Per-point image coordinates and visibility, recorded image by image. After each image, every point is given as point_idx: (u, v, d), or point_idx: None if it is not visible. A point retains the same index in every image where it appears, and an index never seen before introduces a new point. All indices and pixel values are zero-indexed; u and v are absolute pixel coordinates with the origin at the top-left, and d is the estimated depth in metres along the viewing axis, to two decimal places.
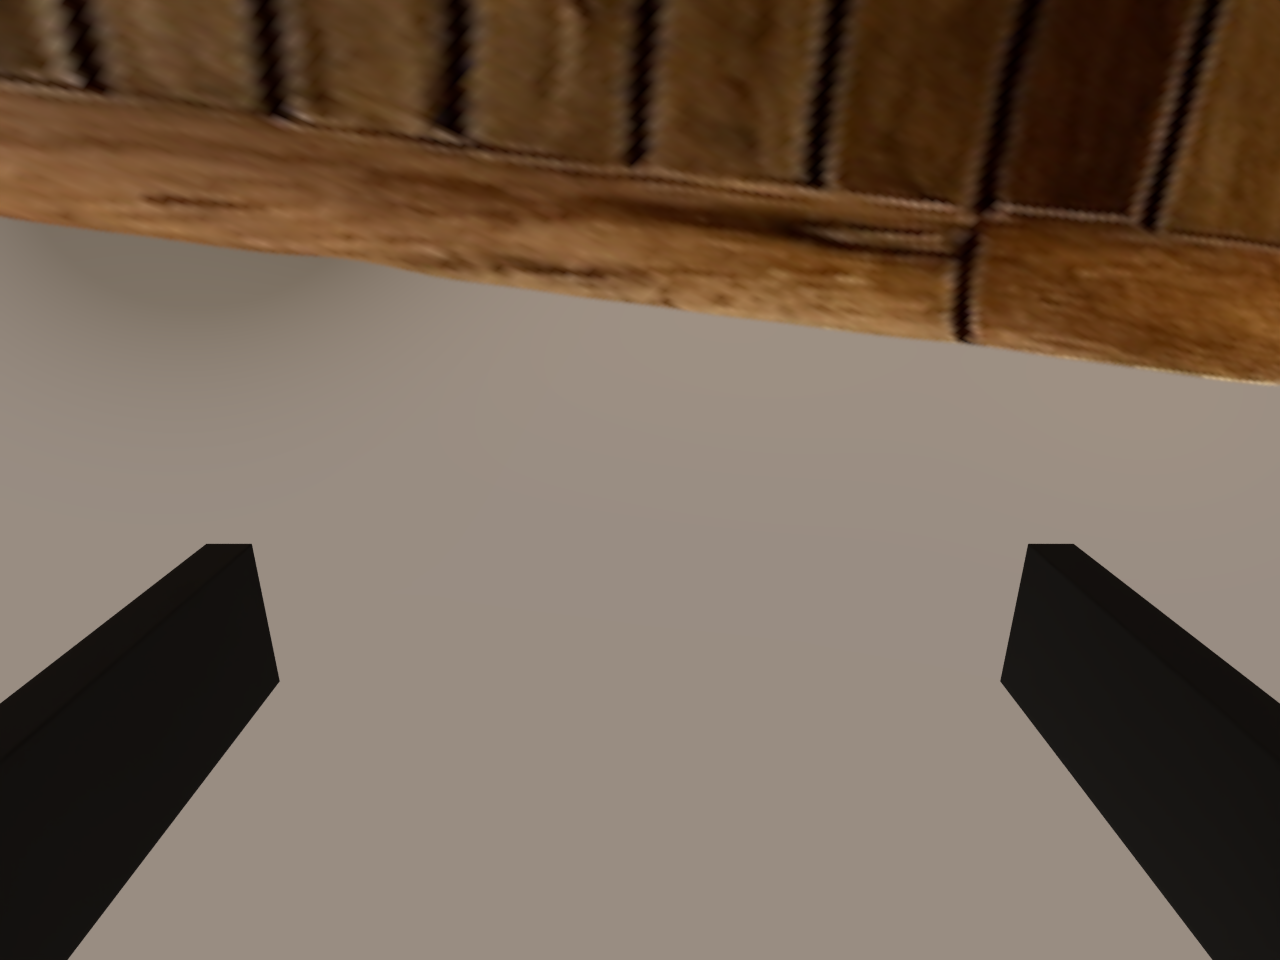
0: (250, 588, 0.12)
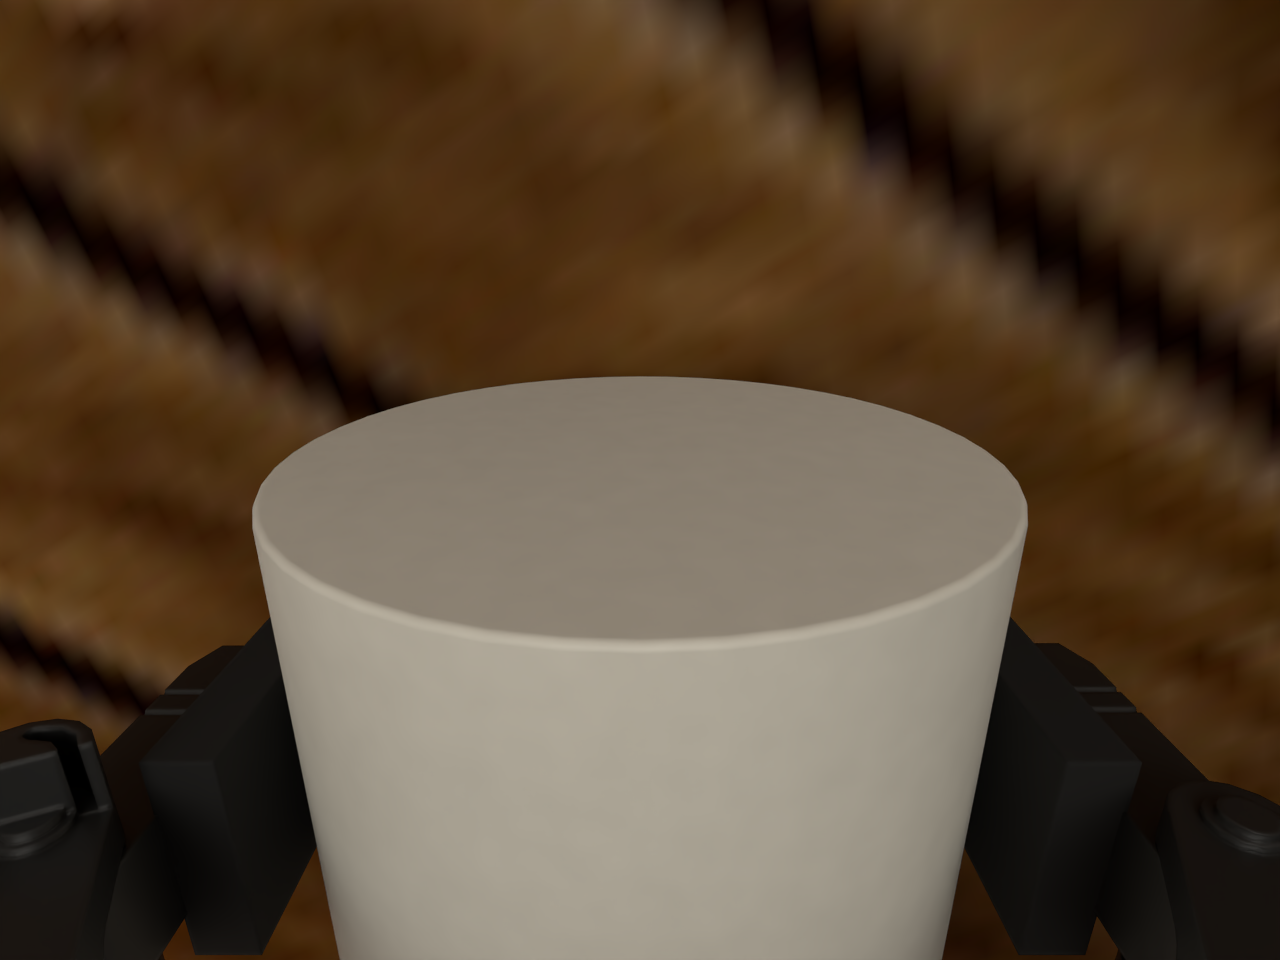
0: None
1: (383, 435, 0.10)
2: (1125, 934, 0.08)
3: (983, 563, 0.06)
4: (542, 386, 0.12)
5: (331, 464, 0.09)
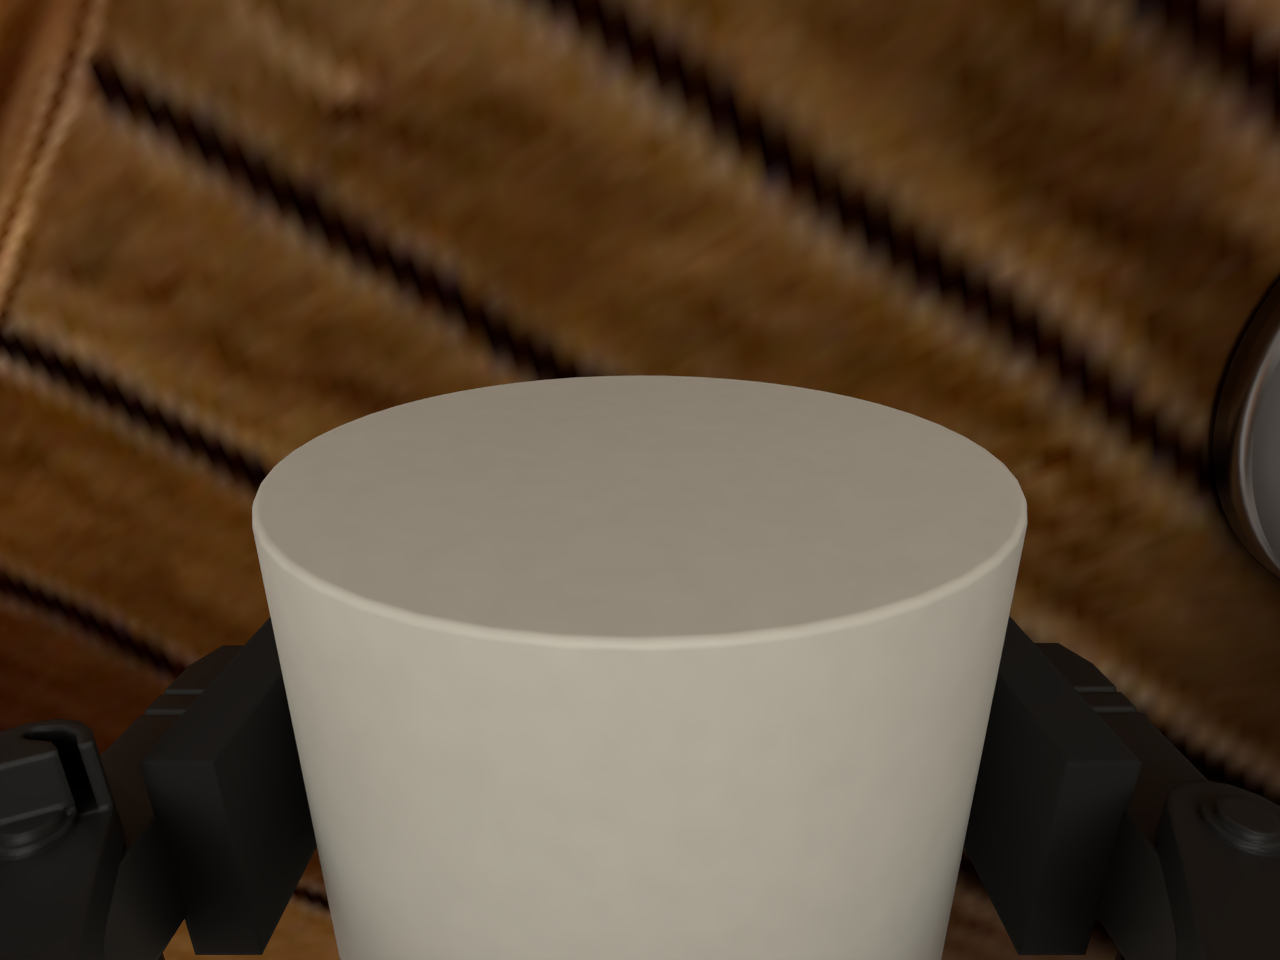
0: None
1: (383, 434, 0.10)
2: (1125, 934, 0.08)
3: (983, 561, 0.06)
4: (542, 385, 0.12)
5: (331, 462, 0.09)
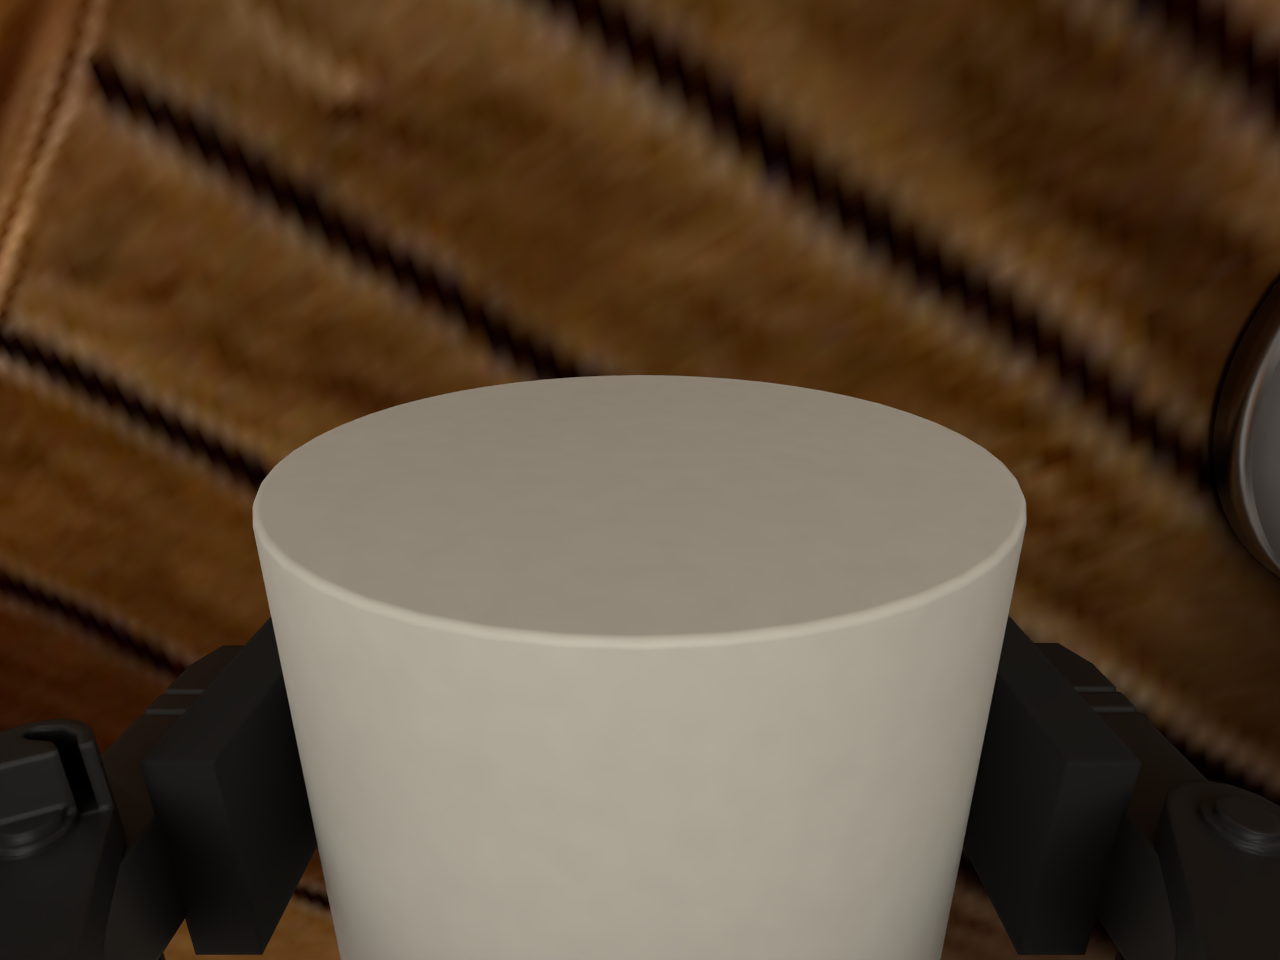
0: None
1: (383, 433, 0.10)
2: (1124, 934, 0.08)
3: (982, 561, 0.06)
4: (542, 385, 0.12)
5: (331, 462, 0.09)
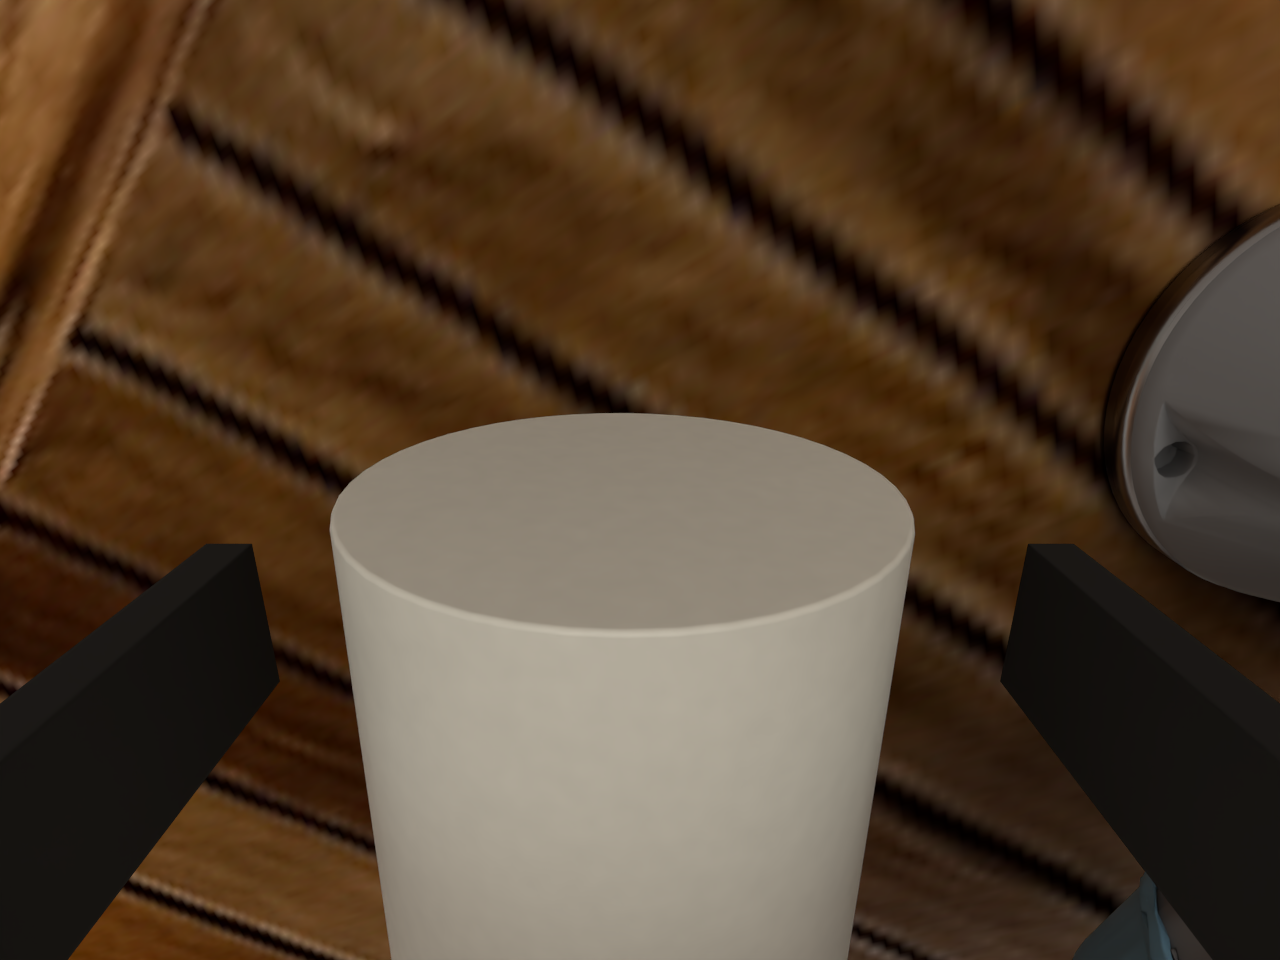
0: (250, 588, 0.12)
1: (419, 467, 0.12)
2: None
3: (867, 578, 0.09)
4: (545, 422, 0.15)
5: (383, 492, 0.11)
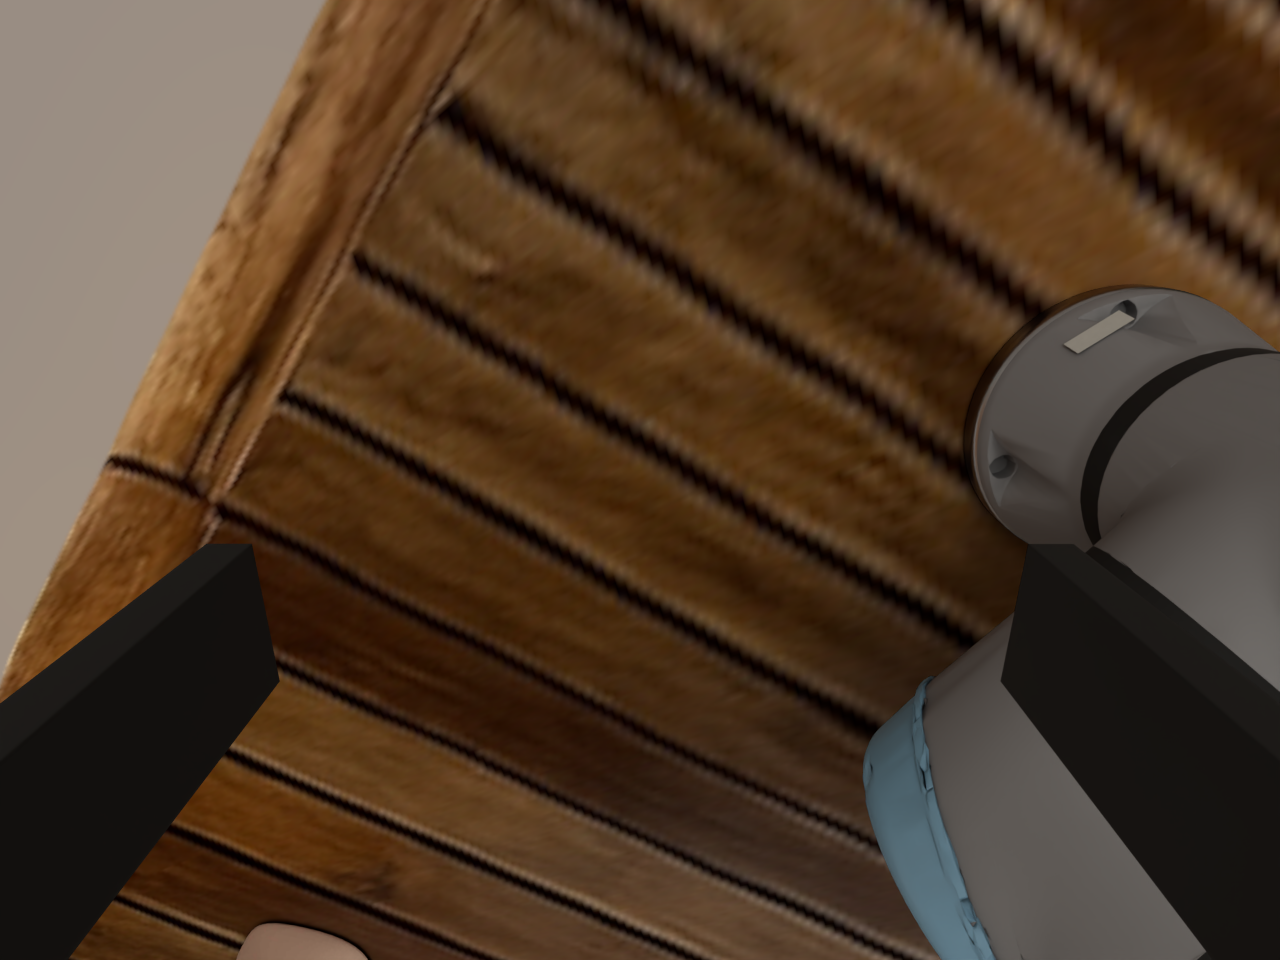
0: (251, 588, 0.12)
1: None
2: None
3: None
4: None
5: None
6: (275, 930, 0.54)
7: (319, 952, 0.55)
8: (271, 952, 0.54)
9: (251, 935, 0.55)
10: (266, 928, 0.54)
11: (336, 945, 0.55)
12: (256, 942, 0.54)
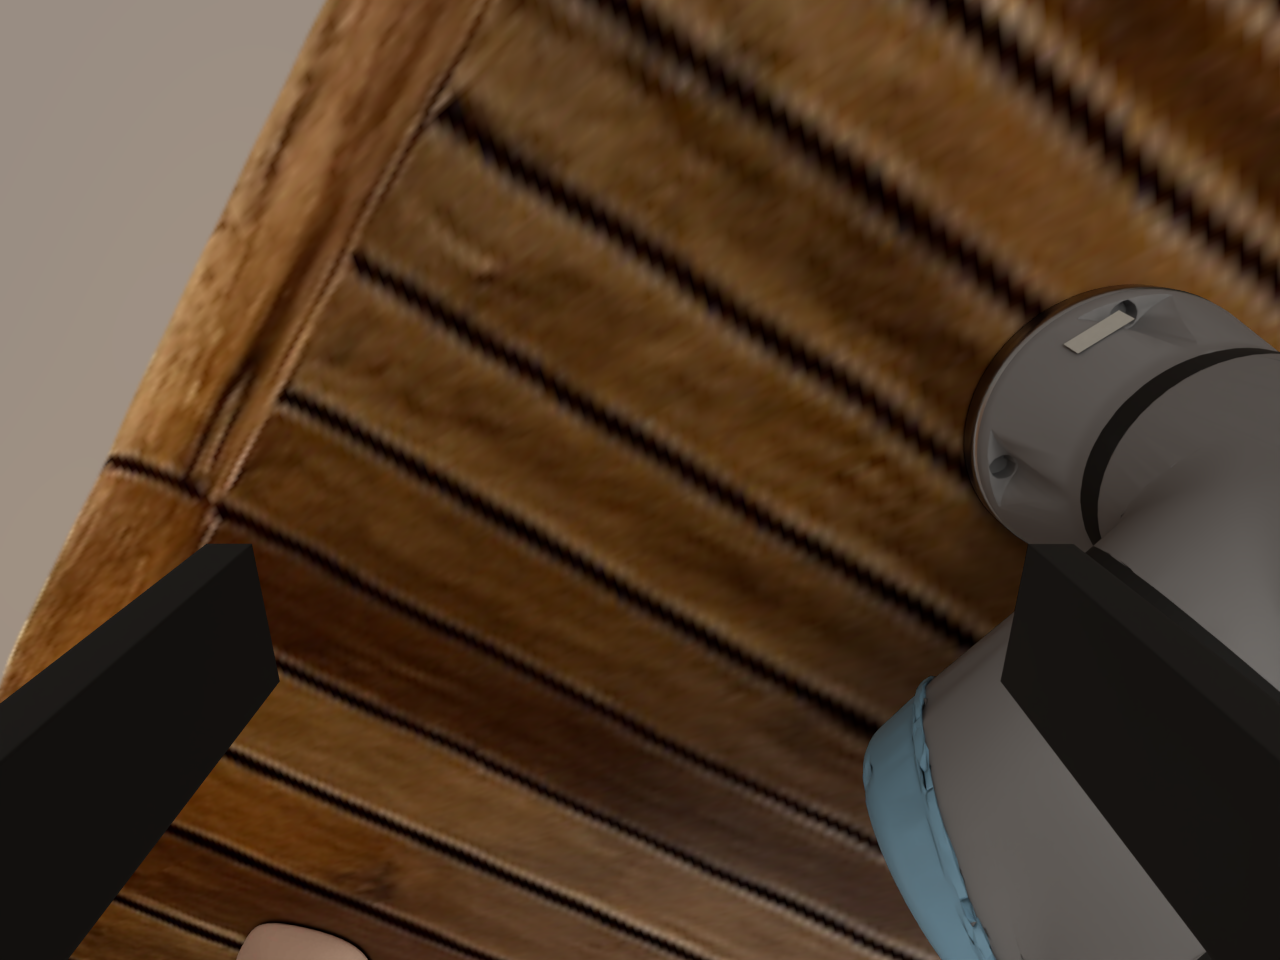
0: (251, 588, 0.12)
1: None
2: None
3: None
4: None
5: None
6: (275, 930, 0.54)
7: (319, 952, 0.55)
8: (271, 952, 0.54)
9: (251, 935, 0.55)
10: (266, 928, 0.54)
11: (336, 945, 0.55)
12: (256, 942, 0.54)
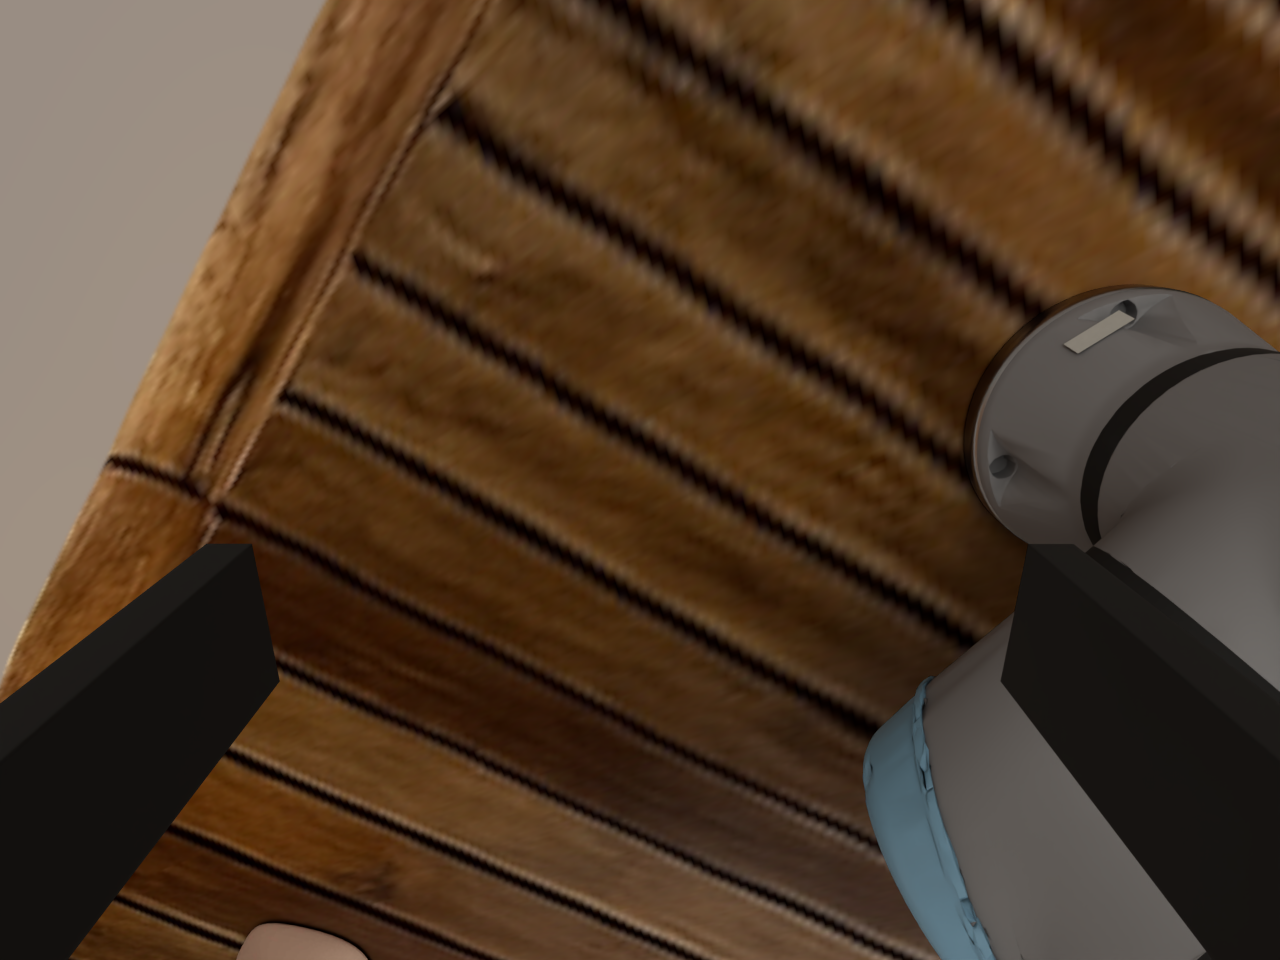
0: (251, 588, 0.12)
1: None
2: None
3: None
4: None
5: None
6: (275, 930, 0.54)
7: (319, 952, 0.55)
8: (271, 952, 0.54)
9: (251, 935, 0.55)
10: (266, 928, 0.54)
11: (336, 945, 0.55)
12: (256, 942, 0.54)
